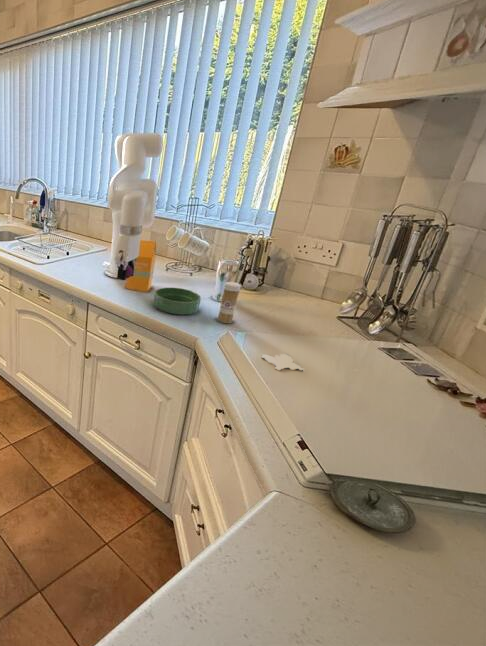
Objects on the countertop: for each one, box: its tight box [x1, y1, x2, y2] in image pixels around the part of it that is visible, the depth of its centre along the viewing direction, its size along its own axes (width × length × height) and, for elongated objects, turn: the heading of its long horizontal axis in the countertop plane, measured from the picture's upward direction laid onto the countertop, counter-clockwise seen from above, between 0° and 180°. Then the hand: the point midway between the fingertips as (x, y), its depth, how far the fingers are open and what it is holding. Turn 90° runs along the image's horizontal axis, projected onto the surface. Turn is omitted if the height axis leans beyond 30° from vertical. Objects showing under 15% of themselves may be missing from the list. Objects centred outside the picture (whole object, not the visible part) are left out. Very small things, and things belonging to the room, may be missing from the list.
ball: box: [125, 265, 133, 279], centre depth 147 cm, size 5×5×5 cm
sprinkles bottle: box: [217, 281, 242, 324], centre depth 131 cm, size 5×5×14 cm
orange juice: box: [125, 239, 157, 293], centre depth 161 cm, size 8×9×20 cm
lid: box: [329, 479, 417, 534], centre depth 65 cm, size 11×10×5 cm
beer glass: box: [212, 258, 240, 303], centre depth 149 cm, size 7×7×15 cm
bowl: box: [153, 287, 202, 315], centre depth 144 cm, size 15×15×5 cm
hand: (125, 276), depth 148 cm, fingers closed on ball, 4 cm apart
